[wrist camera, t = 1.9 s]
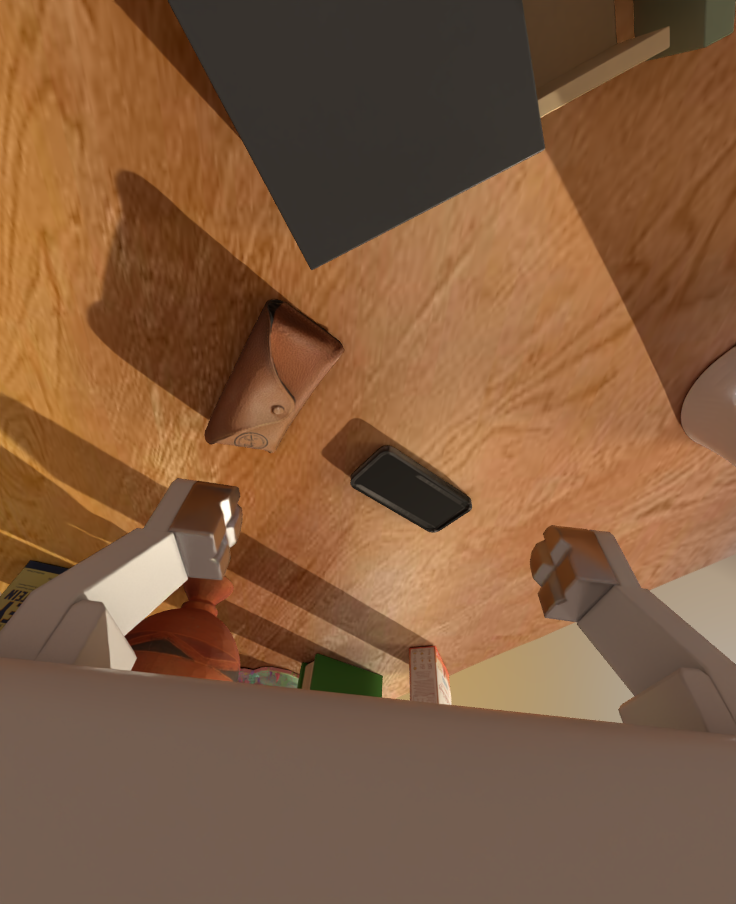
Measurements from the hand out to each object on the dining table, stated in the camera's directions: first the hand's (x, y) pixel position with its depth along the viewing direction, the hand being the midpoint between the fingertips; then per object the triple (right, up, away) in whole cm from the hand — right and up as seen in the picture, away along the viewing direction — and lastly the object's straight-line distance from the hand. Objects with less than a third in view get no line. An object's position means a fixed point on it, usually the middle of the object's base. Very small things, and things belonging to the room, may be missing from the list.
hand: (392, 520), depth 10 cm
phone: (+5, -3, +41) cm, 41 cm away
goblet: (-29, -21, +60) cm, 69 cm away
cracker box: (+13, -43, +74) cm, 86 cm away
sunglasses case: (-11, +9, +32) cm, 35 cm away
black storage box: (0, +26, +16) cm, 31 cm away
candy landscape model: (-27, -57, +90) cm, 110 cm away
